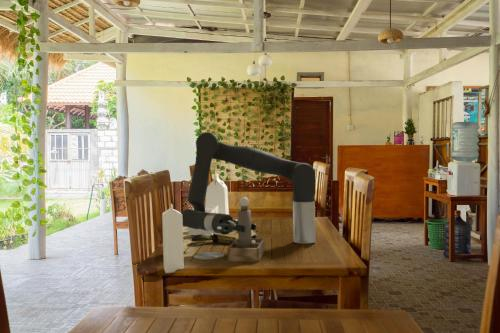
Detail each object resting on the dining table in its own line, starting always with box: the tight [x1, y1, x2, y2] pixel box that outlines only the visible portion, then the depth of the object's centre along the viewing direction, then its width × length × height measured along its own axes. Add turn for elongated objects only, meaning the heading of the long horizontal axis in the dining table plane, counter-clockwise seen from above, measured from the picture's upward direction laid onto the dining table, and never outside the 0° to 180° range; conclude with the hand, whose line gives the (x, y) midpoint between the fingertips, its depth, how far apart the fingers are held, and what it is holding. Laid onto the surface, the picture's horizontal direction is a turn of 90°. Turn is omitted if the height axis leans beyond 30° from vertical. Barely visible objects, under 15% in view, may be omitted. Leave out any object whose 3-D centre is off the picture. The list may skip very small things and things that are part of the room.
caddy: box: [226, 237, 266, 263], centre depth 168 cm, size 11×18×6 cm, turn 172°
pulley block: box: [190, 230, 260, 245], centre depth 198 cm, size 14×6×30 cm
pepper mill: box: [237, 196, 252, 248], centre depth 163 cm, size 5×5×22 cm
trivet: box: [193, 251, 225, 260], centre depth 169 cm, size 11×11×1 cm
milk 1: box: [161, 203, 185, 274], centre depth 153 cm, size 6×6×22 cm
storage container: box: [187, 205, 218, 236], centre depth 227 cm, size 25×11×11 cm, turn 177°
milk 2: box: [205, 173, 230, 215], centre depth 259 cm, size 12×12×26 cm
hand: (250, 228), depth 161 cm, fingers closed on pepper mill, 4 cm apart
